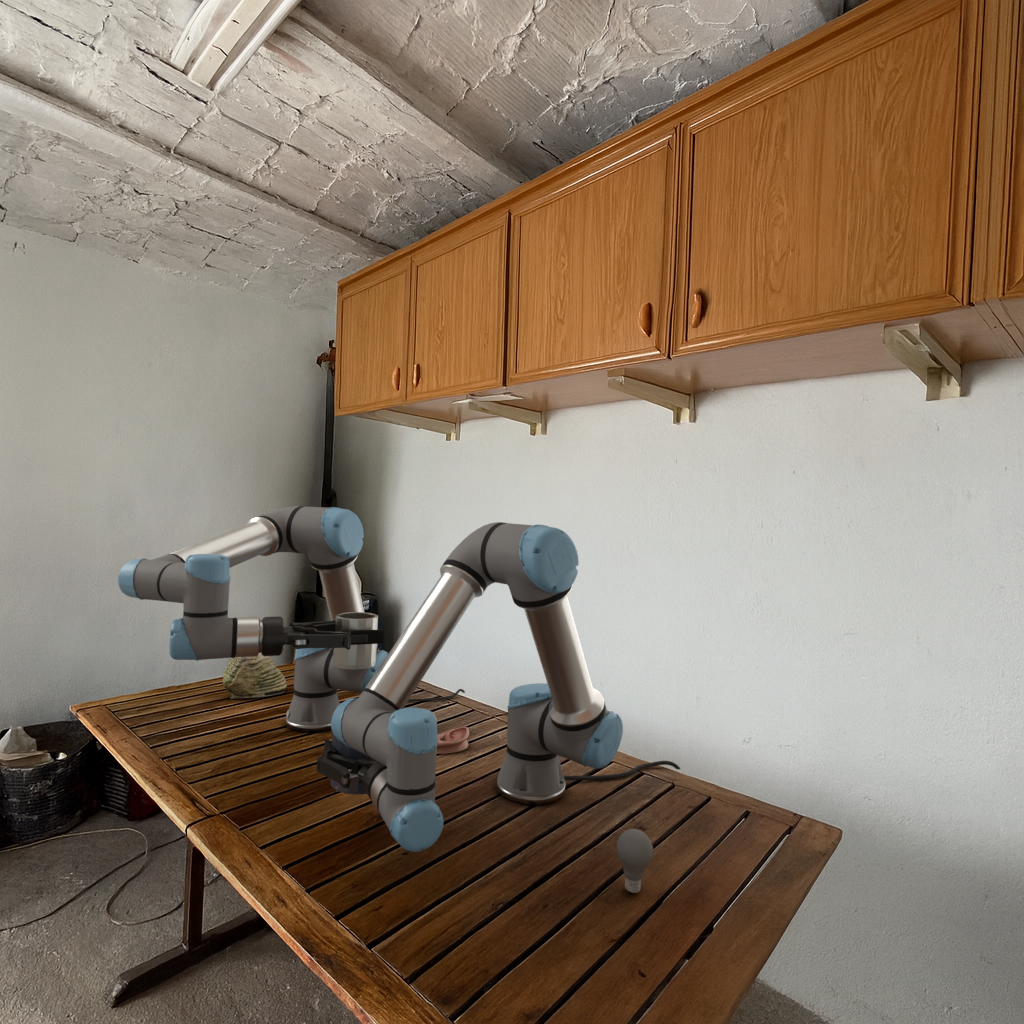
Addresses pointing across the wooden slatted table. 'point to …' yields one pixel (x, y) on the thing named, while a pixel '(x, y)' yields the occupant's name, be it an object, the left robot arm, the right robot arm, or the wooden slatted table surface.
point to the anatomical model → (453, 740)
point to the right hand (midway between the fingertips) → (358, 741)
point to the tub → (352, 754)
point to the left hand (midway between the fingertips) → (377, 631)
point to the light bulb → (634, 857)
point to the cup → (356, 654)
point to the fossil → (253, 677)
